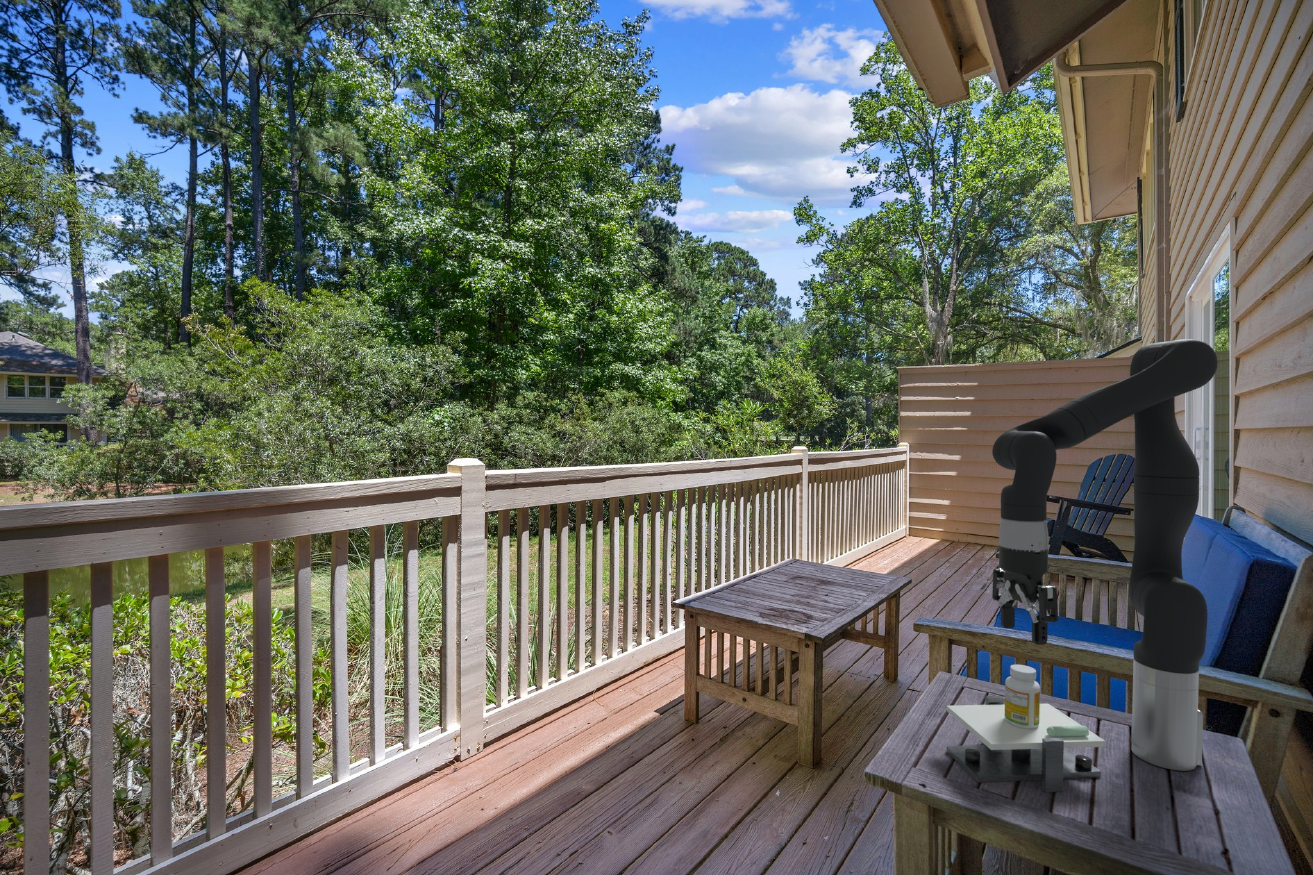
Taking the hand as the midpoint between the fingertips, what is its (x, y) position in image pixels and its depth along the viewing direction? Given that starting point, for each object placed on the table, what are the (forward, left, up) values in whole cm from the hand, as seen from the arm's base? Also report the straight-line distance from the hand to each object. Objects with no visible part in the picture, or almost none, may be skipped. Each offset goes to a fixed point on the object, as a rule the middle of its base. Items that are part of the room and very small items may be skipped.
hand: (1023, 635), depth 112 cm
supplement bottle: (0, 0, -16) cm, 16 cm away
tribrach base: (0, 0, -23) cm, 23 cm away
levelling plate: (0, 0, -16) cm, 16 cm away
